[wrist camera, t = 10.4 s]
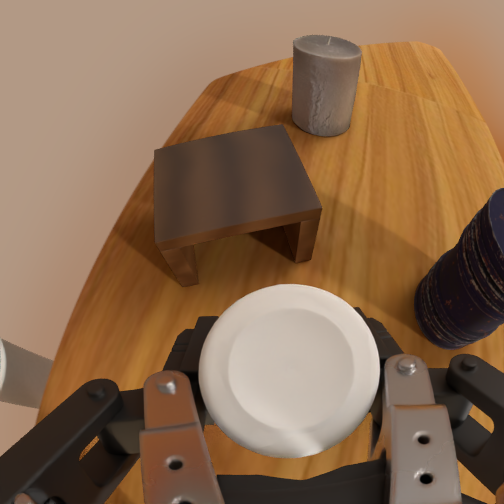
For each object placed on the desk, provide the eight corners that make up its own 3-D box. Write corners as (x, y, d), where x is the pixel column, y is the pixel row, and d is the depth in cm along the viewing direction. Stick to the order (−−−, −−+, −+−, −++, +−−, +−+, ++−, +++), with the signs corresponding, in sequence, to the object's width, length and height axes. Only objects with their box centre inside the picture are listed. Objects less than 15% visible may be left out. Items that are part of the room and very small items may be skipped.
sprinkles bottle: (260, 351, 20) (248, 252, 8) (321, 377, 18) (406, 316, 7) (229, 410, 18) (161, 406, 6) (292, 438, 17) (339, 486, 5)
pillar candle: (351, 110, 46) (363, 34, 33) (347, 143, 41) (363, 54, 28) (297, 100, 48) (299, 24, 35) (284, 130, 43) (285, 42, 30)
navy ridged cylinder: (397, 291, 29) (466, 205, 17) (451, 256, 31) (516, 175, 18) (441, 368, 25) (540, 323, 12) (491, 322, 26) (575, 262, 13)
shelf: (182, 287, 31) (154, 242, 23) (174, 202, 37) (154, 149, 29) (311, 259, 32) (322, 207, 24) (281, 179, 38) (282, 123, 30)
